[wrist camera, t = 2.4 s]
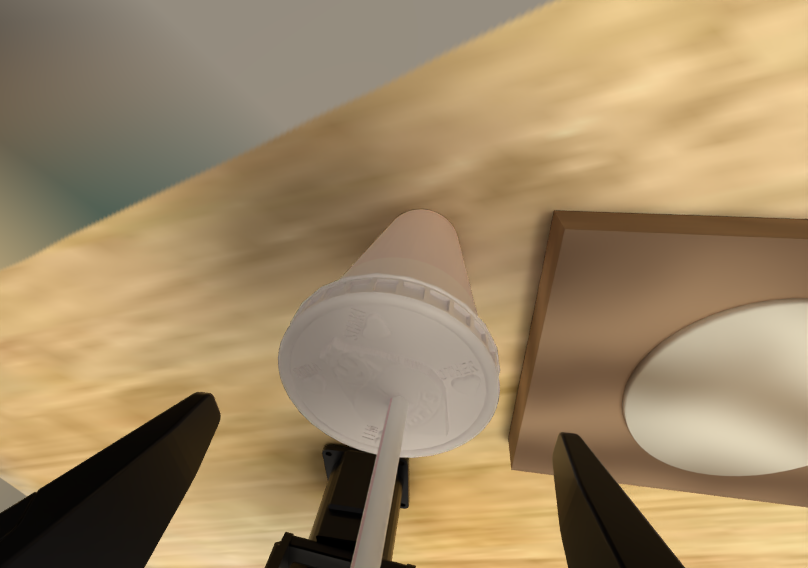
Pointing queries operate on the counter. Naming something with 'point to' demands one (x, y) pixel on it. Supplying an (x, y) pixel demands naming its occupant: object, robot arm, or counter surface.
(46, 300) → the counter surface
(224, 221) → the counter surface
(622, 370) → the walnut base
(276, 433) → the counter surface
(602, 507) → the robot arm
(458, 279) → the smoothie
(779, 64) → the counter surface
